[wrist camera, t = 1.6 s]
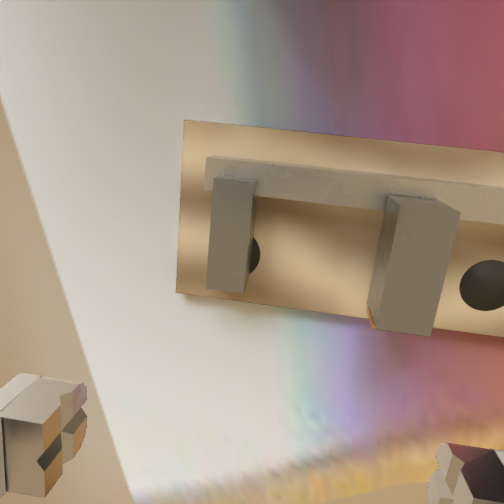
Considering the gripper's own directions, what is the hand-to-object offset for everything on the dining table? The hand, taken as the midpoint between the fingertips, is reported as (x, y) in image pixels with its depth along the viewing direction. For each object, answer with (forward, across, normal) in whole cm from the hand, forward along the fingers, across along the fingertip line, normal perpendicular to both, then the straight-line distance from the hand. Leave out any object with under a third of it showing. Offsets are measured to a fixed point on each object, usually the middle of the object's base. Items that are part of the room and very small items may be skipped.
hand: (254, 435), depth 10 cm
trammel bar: (+20, -6, -1) cm, 21 cm away
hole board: (+21, -6, -1) cm, 22 cm away
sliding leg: (+20, -7, 0) cm, 21 cm away
